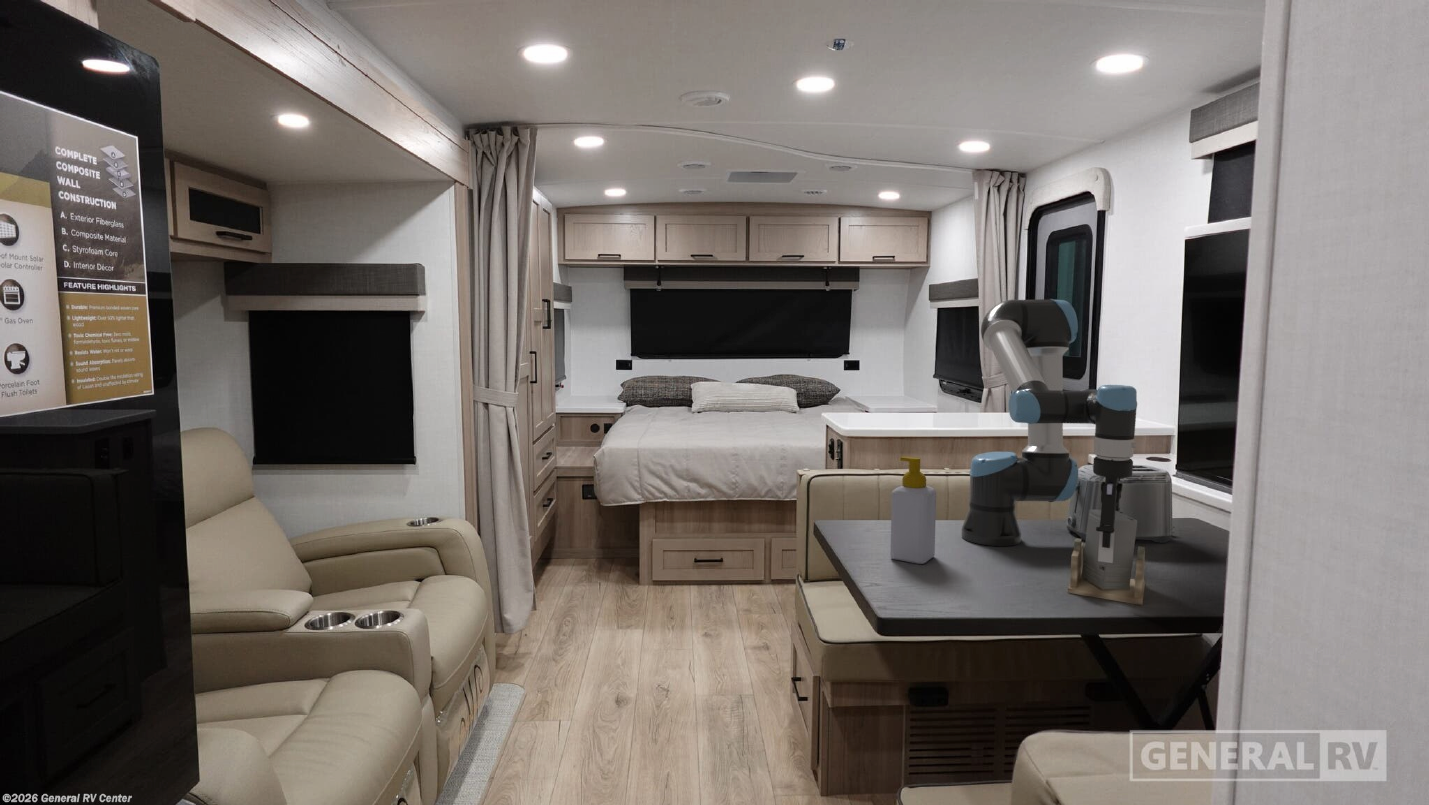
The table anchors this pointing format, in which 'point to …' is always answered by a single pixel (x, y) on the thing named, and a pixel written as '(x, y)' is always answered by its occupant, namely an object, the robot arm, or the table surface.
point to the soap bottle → (913, 517)
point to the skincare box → (1124, 540)
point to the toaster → (1127, 501)
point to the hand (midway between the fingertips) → (1107, 553)
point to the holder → (1089, 589)
